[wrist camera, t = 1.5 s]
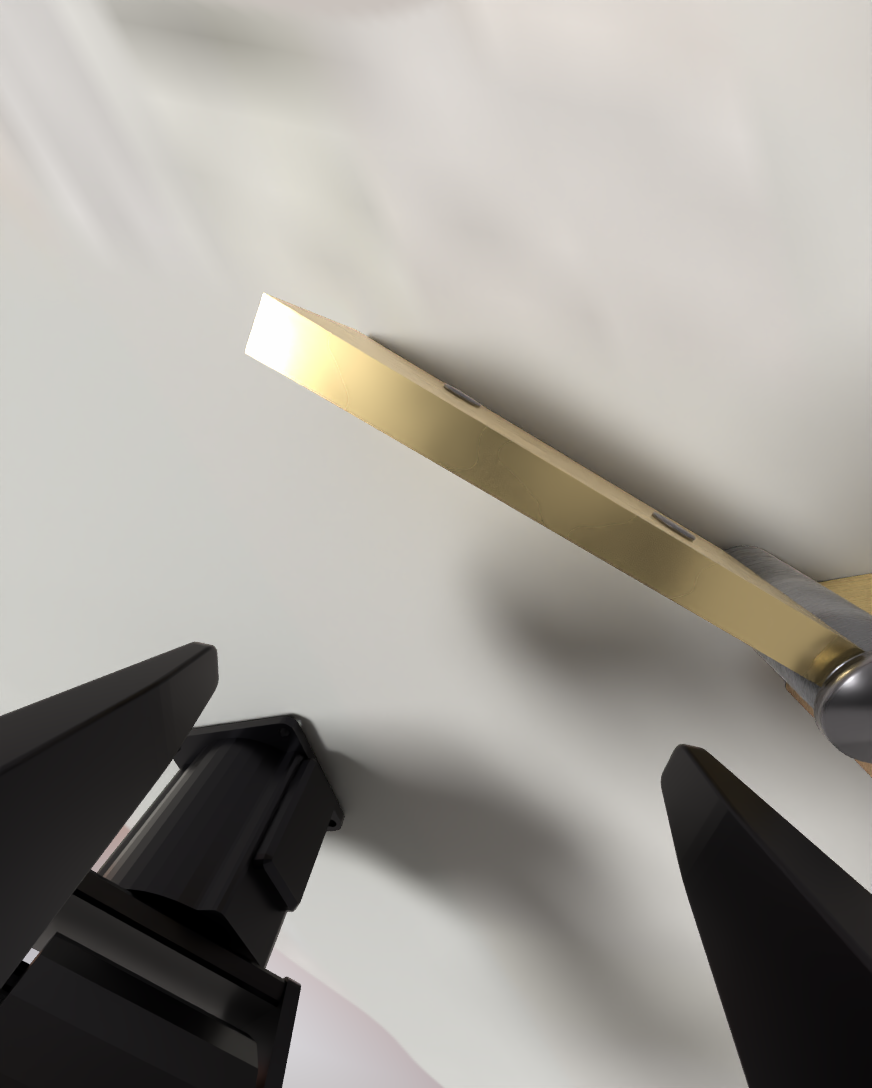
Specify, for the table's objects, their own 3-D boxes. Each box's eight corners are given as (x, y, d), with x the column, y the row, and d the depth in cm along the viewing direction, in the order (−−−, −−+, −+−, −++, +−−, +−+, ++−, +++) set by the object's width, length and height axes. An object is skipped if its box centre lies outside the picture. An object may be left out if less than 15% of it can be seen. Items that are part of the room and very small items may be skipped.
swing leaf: (805, 567, 12) (1034, 699, 7) (739, 629, 13) (898, 784, 8) (368, 300, 11) (263, 229, 6) (330, 390, 12) (214, 395, 7)
